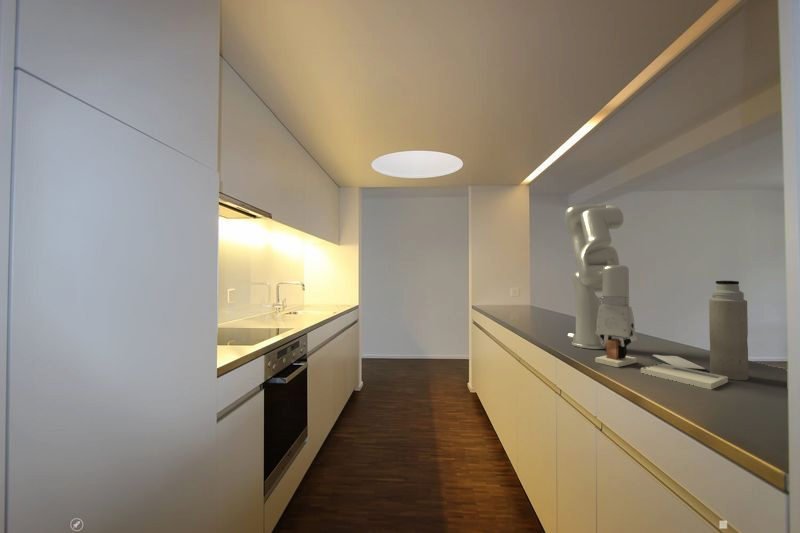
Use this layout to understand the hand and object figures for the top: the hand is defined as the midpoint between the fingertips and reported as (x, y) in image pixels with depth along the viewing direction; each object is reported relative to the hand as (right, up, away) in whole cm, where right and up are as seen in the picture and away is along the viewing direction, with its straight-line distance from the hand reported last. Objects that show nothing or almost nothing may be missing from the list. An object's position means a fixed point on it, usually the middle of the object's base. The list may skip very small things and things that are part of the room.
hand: (615, 356), depth 111 cm
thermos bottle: (+24, -2, -14) cm, 28 cm away
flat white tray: (+9, -2, -16) cm, 18 cm away
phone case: (+19, -3, -2) cm, 19 cm away
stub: (0, -2, 0) cm, 2 cm away
